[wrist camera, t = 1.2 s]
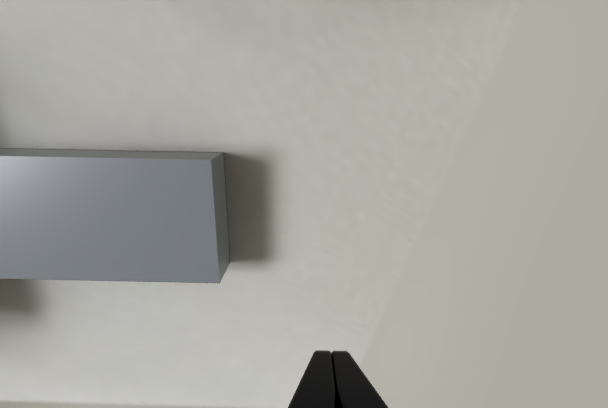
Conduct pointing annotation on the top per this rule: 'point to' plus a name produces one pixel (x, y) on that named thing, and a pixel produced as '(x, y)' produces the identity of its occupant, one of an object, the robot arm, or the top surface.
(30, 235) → the grey chamfered block
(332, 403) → the robot arm
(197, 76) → the top surface
